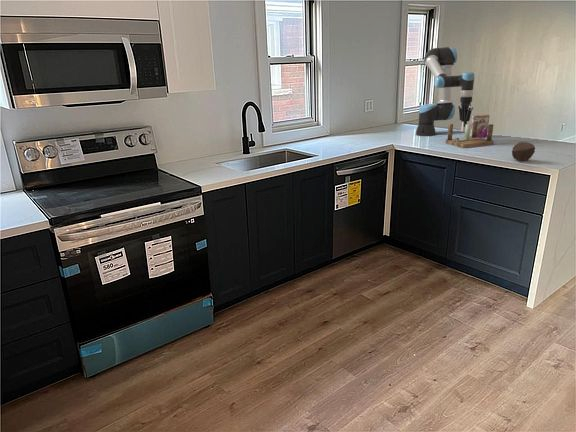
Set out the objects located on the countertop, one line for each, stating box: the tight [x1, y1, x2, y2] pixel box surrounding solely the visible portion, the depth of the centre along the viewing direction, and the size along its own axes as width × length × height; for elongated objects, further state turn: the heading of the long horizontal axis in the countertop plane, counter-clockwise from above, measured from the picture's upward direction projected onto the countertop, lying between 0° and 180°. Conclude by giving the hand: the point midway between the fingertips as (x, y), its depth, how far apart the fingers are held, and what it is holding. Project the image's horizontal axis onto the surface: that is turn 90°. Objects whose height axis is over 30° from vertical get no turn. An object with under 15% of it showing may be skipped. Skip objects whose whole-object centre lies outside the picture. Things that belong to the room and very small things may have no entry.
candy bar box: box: [469, 114, 490, 138], centre depth 312 cm, size 11×5×16 cm, turn 84°
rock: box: [511, 141, 536, 162], centre depth 244 cm, size 12×10×10 cm
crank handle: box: [454, 123, 471, 142], centre depth 291 cm, size 11×3×11 cm, turn 105°
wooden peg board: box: [444, 121, 494, 149], centre depth 293 cm, size 20×24×14 cm
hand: (463, 130), depth 295 cm, fingers closed
